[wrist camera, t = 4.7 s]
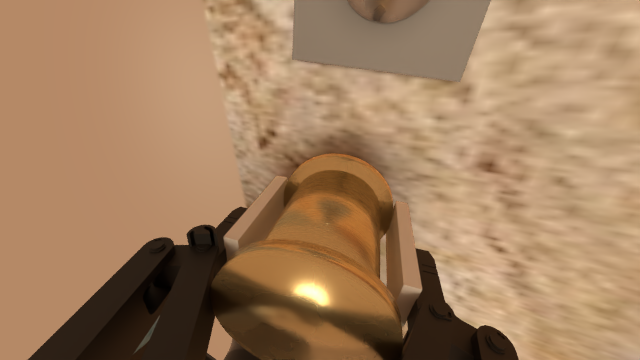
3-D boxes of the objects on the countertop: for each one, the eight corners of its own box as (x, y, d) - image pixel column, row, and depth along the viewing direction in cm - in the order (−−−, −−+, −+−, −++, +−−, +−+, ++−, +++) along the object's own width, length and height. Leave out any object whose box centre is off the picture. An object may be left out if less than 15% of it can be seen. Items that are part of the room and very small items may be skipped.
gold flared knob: (378, 254, 18) (375, 403, 10) (285, 231, 19) (220, 349, 11) (406, 165, 14) (435, 295, 7) (289, 143, 15) (196, 232, 8)
